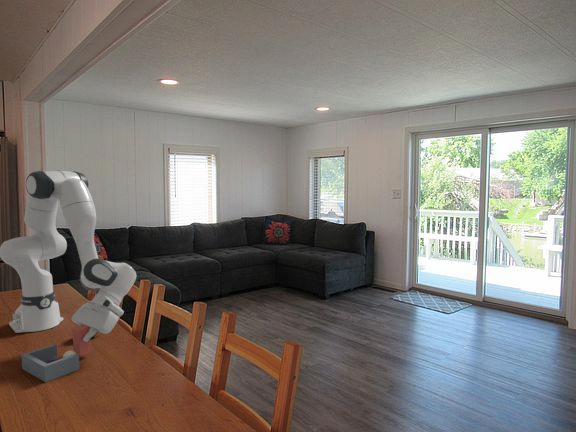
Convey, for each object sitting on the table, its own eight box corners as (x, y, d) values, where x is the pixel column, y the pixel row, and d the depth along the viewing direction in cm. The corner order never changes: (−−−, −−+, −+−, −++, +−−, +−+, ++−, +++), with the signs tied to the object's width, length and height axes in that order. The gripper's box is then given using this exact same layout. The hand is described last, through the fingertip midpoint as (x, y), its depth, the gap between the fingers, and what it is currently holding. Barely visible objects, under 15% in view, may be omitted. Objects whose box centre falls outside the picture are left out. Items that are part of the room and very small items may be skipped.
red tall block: (74, 352, 142) (71, 328, 140) (85, 348, 145) (82, 324, 144) (80, 355, 139) (77, 330, 138) (91, 350, 143) (89, 326, 141)
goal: (22, 369, 134) (21, 354, 133) (55, 357, 142) (54, 343, 142) (45, 382, 125) (44, 366, 124) (79, 369, 133) (78, 354, 133)
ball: (69, 346, 140) (74, 356, 142) (58, 354, 137) (63, 363, 138) (76, 349, 138) (80, 358, 139) (64, 356, 135) (69, 366, 136)
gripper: (82, 295, 152) (57, 329, 145) (114, 304, 140) (88, 341, 133) (95, 304, 156) (70, 337, 149) (126, 313, 144) (102, 349, 137)
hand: (79, 339), depth 141 cm, fingers closed on red tall block, 4 cm apart
